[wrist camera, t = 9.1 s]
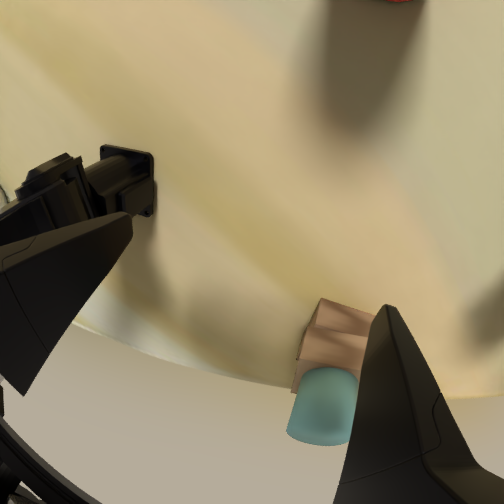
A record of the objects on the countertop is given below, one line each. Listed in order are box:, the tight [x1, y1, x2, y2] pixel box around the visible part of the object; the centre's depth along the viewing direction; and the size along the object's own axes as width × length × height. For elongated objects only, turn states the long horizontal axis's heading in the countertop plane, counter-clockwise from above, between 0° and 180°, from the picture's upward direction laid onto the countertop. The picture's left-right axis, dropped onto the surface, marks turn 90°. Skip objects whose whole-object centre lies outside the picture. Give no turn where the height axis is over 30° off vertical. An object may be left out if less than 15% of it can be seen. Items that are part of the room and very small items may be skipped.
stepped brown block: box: [291, 326, 368, 394], centre depth 23 cm, size 6×6×4 cm
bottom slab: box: [296, 298, 375, 361], centre depth 26 cm, size 6×6×4 cm
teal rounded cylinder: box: [286, 367, 359, 446], centre depth 20 cm, size 5×5×5 cm
